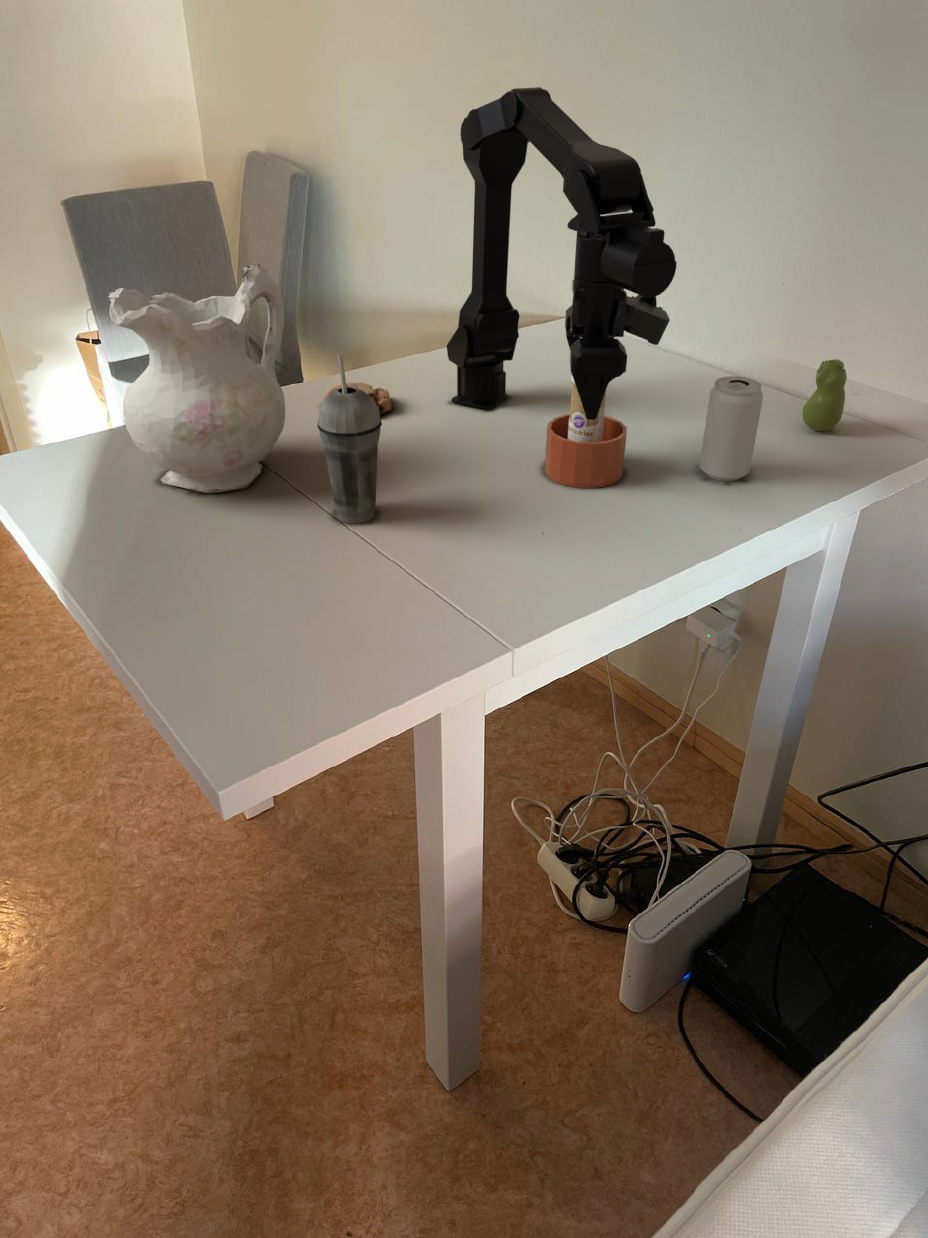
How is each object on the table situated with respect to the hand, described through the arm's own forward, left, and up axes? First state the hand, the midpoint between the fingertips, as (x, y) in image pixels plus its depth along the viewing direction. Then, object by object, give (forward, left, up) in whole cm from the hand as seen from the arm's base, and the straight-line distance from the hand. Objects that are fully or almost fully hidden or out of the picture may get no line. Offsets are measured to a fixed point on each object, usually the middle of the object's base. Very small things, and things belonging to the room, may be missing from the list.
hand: (589, 405), depth 120 cm
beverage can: (+16, +9, -9) cm, 20 cm away
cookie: (-38, +3, -9) cm, 39 cm away
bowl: (0, 0, -9) cm, 9 cm away
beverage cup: (-18, -25, -9) cm, 32 cm away
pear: (+23, +30, -9) cm, 39 cm away
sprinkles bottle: (0, 0, -9) cm, 9 cm away
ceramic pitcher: (-40, -24, -9) cm, 48 cm away
